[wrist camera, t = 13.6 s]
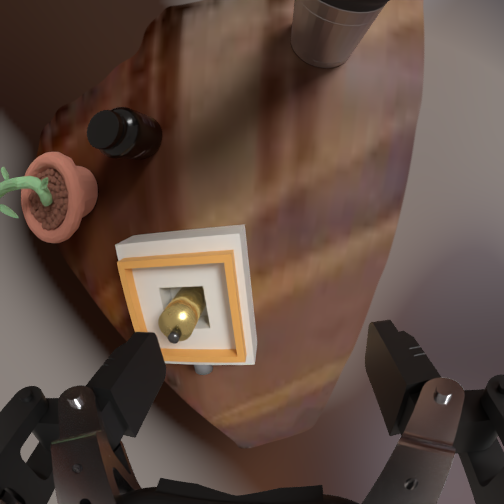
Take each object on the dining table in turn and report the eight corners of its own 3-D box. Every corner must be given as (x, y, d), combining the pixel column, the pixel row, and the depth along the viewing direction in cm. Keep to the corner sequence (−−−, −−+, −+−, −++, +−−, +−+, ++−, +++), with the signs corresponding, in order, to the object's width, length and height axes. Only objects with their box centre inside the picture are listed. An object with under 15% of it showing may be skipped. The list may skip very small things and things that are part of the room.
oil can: (176, 283, 43) (150, 315, 33) (205, 282, 42) (185, 315, 32) (181, 310, 44) (158, 346, 34) (209, 309, 43) (192, 348, 33)
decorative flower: (43, 202, 43) (-86, 243, 14) (68, 136, 39) (-77, 138, 11) (93, 246, 44) (-42, 323, 16) (125, 176, 41) (-42, 204, 12)
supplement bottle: (147, 167, 40) (104, 169, 29) (117, 144, 39) (71, 140, 28) (172, 130, 38) (136, 118, 27) (141, 108, 38) (99, 92, 26)
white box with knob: (133, 235, 43) (108, 248, 36) (244, 224, 41) (237, 237, 34) (162, 356, 49) (147, 382, 42) (258, 356, 48) (255, 387, 40)
